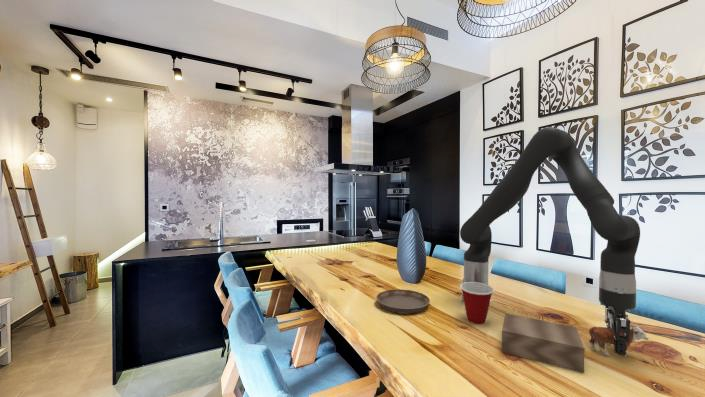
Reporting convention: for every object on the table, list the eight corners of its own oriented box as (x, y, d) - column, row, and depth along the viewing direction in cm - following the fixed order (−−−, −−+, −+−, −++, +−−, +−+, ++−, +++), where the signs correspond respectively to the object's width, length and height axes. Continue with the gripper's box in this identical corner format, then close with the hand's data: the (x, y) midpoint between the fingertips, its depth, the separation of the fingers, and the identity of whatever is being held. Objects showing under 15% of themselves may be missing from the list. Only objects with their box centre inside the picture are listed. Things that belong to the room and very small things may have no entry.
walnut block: (501, 351, 80) (501, 330, 80) (504, 332, 92) (505, 313, 92) (584, 372, 70) (584, 348, 70) (576, 347, 82) (576, 326, 82)
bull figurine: (651, 361, 76) (652, 330, 76) (593, 355, 79) (593, 325, 79) (638, 352, 80) (639, 323, 80) (583, 347, 83) (584, 318, 83)
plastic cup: (459, 324, 97) (460, 289, 97) (459, 312, 107) (459, 280, 107) (495, 330, 93) (496, 293, 93) (491, 317, 103) (492, 283, 103)
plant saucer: (407, 321, 99) (407, 312, 99) (365, 304, 115) (365, 296, 115) (440, 307, 113) (440, 298, 113) (399, 293, 128) (399, 286, 128)
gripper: (594, 279, 87) (593, 334, 87) (605, 292, 75) (604, 356, 75) (627, 283, 84) (627, 341, 84) (644, 298, 71) (644, 365, 71)
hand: (616, 348), depth 79 cm, fingers open, 6 cm apart
